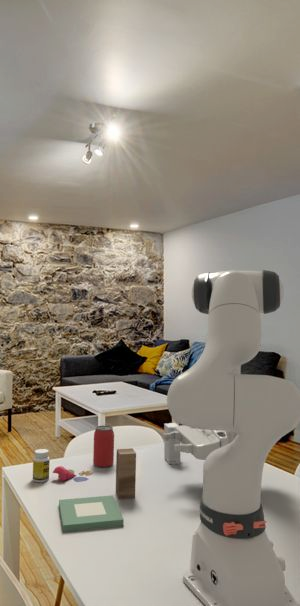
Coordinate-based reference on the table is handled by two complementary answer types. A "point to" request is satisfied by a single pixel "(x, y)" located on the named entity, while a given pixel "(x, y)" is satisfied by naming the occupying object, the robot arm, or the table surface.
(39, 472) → the supplement bottle
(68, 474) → the toy pieces
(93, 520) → the plate
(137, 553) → the table surface
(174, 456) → the skincare box
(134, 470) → the walnut block
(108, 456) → the beer can
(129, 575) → the table surface
